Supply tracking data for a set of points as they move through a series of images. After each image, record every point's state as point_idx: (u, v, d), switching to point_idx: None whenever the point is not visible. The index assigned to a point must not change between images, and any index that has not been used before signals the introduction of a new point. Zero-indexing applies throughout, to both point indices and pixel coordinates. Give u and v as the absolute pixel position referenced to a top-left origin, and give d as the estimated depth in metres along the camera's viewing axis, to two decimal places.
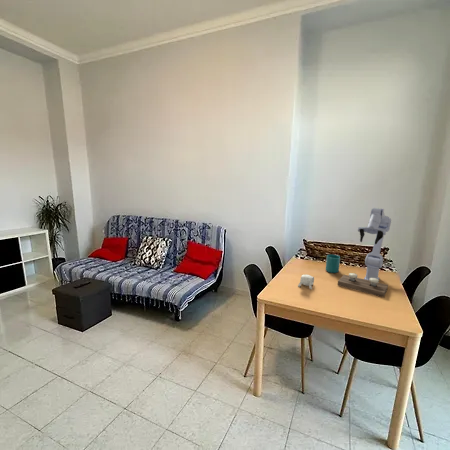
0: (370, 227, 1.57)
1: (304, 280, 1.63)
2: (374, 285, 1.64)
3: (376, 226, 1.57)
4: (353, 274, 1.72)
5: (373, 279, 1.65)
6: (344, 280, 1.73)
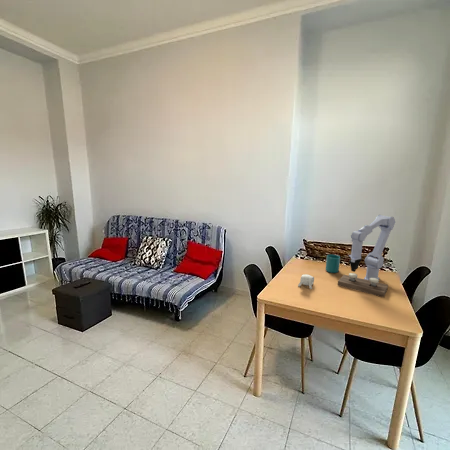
0: None
1: (304, 280, 1.63)
2: (374, 285, 1.64)
3: (352, 254, 1.70)
4: (353, 274, 1.72)
5: (373, 279, 1.65)
6: (344, 280, 1.73)
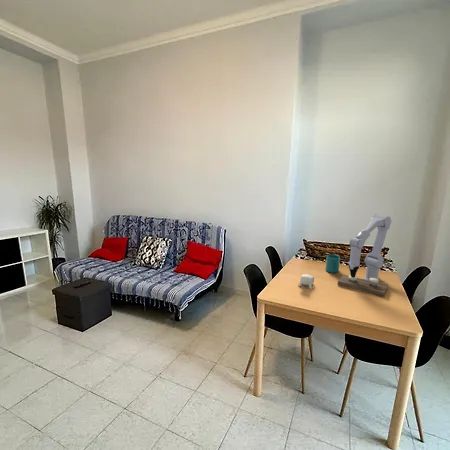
0: None
1: (304, 280, 1.63)
2: (374, 285, 1.64)
3: (350, 261, 1.70)
4: None
5: (373, 279, 1.65)
6: (344, 280, 1.73)
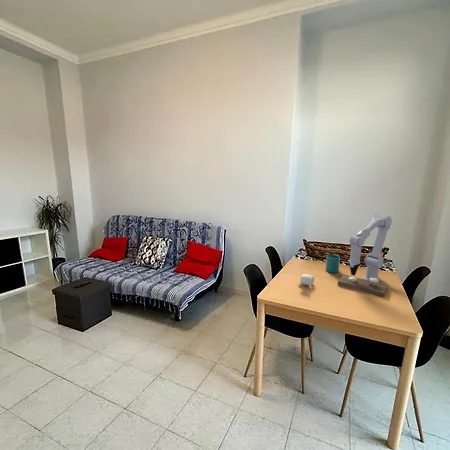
0: None
1: (304, 280, 1.63)
2: (374, 285, 1.64)
3: (351, 259, 1.69)
4: (353, 278, 1.73)
5: (373, 279, 1.65)
6: (344, 280, 1.73)
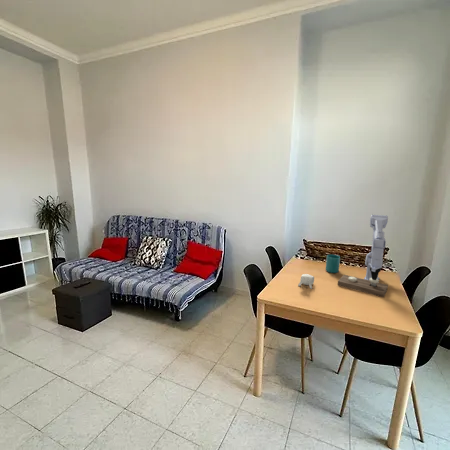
0: None
1: (304, 279, 1.63)
2: (374, 285, 1.64)
3: (372, 263, 1.62)
4: (353, 278, 1.73)
5: None
6: (344, 280, 1.73)
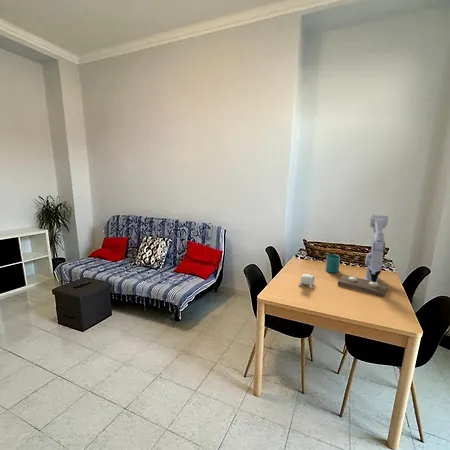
0: None
1: (304, 279, 1.63)
2: None
3: (372, 265, 1.62)
4: (353, 278, 1.73)
5: (372, 283, 1.65)
6: (344, 280, 1.73)
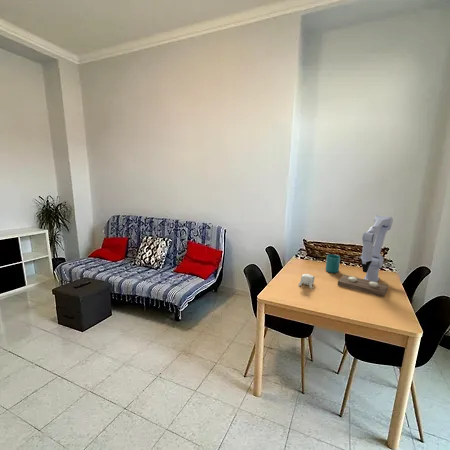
0: None
1: (304, 279, 1.64)
2: None
3: (363, 256, 1.67)
4: (353, 278, 1.73)
5: (372, 283, 1.65)
6: (344, 280, 1.73)
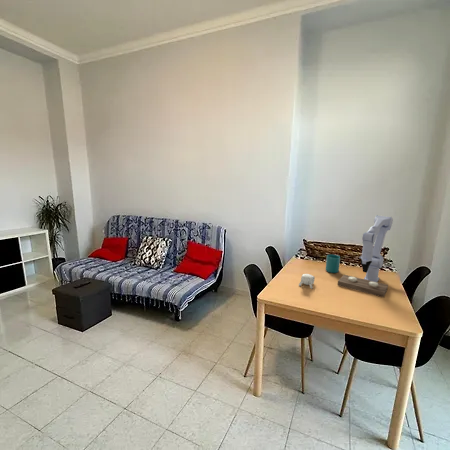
0: None
1: (305, 279, 1.64)
2: None
3: (363, 256, 1.67)
4: (353, 278, 1.73)
5: (372, 283, 1.65)
6: (344, 280, 1.73)
